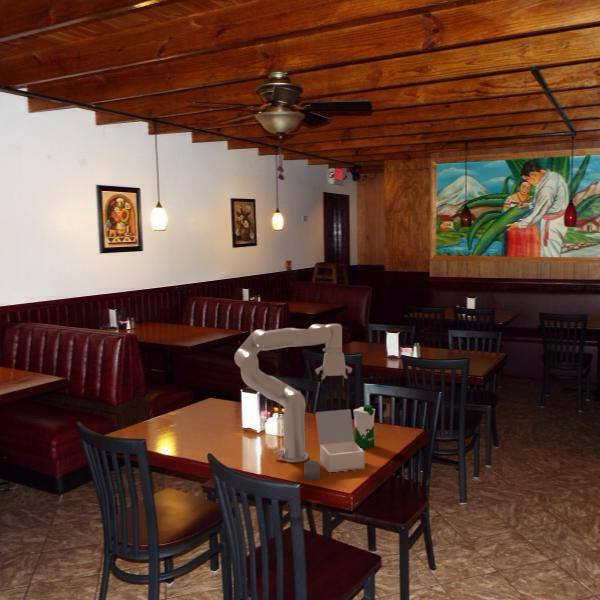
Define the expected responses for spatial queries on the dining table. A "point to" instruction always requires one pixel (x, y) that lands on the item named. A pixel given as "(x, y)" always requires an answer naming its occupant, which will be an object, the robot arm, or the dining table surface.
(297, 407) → the robot arm
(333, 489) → the dining table surface
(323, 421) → the lid
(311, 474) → the gray cube
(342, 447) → the box
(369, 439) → the milk carton
